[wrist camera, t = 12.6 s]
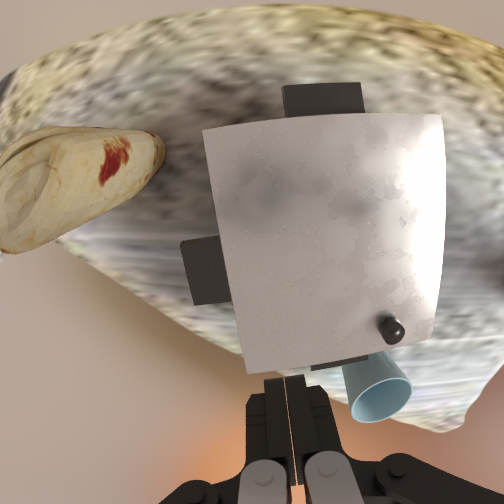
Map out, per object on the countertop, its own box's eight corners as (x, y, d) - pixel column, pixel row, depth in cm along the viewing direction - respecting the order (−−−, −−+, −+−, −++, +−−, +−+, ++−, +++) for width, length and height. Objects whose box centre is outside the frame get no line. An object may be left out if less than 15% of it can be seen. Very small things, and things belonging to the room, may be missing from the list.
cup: (374, 369, 41) (398, 419, 31) (325, 370, 40) (342, 426, 31) (390, 326, 38) (422, 375, 28) (338, 326, 38) (362, 380, 28)
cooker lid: (434, 115, 20) (451, 114, 17) (426, 332, 27) (436, 346, 24) (162, 138, 20) (153, 139, 18) (215, 370, 27) (213, 387, 25)
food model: (118, 211, 32) (3, 294, 13) (89, 163, 30) (-47, 202, 11) (190, 162, 31) (108, 198, 12) (157, 110, 29) (43, 82, 10)
